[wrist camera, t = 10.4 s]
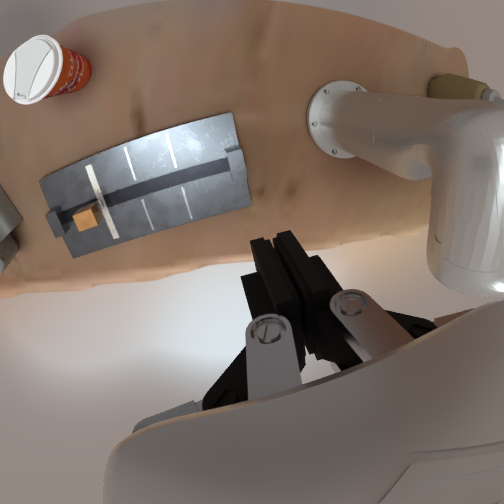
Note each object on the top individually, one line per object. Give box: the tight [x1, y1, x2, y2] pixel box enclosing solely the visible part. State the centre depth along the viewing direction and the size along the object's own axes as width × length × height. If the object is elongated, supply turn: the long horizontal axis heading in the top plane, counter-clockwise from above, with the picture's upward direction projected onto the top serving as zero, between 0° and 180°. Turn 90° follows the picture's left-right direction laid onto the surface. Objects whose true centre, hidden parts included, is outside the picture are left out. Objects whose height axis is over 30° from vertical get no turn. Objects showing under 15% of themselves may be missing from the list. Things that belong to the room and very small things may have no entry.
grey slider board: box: [39, 112, 252, 259], centre depth 38 cm, size 30×14×4 cm, turn 101°
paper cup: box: [3, 35, 91, 104], centre depth 23 cm, size 8×8×14 cm
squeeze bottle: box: [428, 73, 504, 105], centre depth 32 cm, size 8×8×18 cm
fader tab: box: [73, 200, 103, 232], centre depth 35 cm, size 3×2×5 cm
